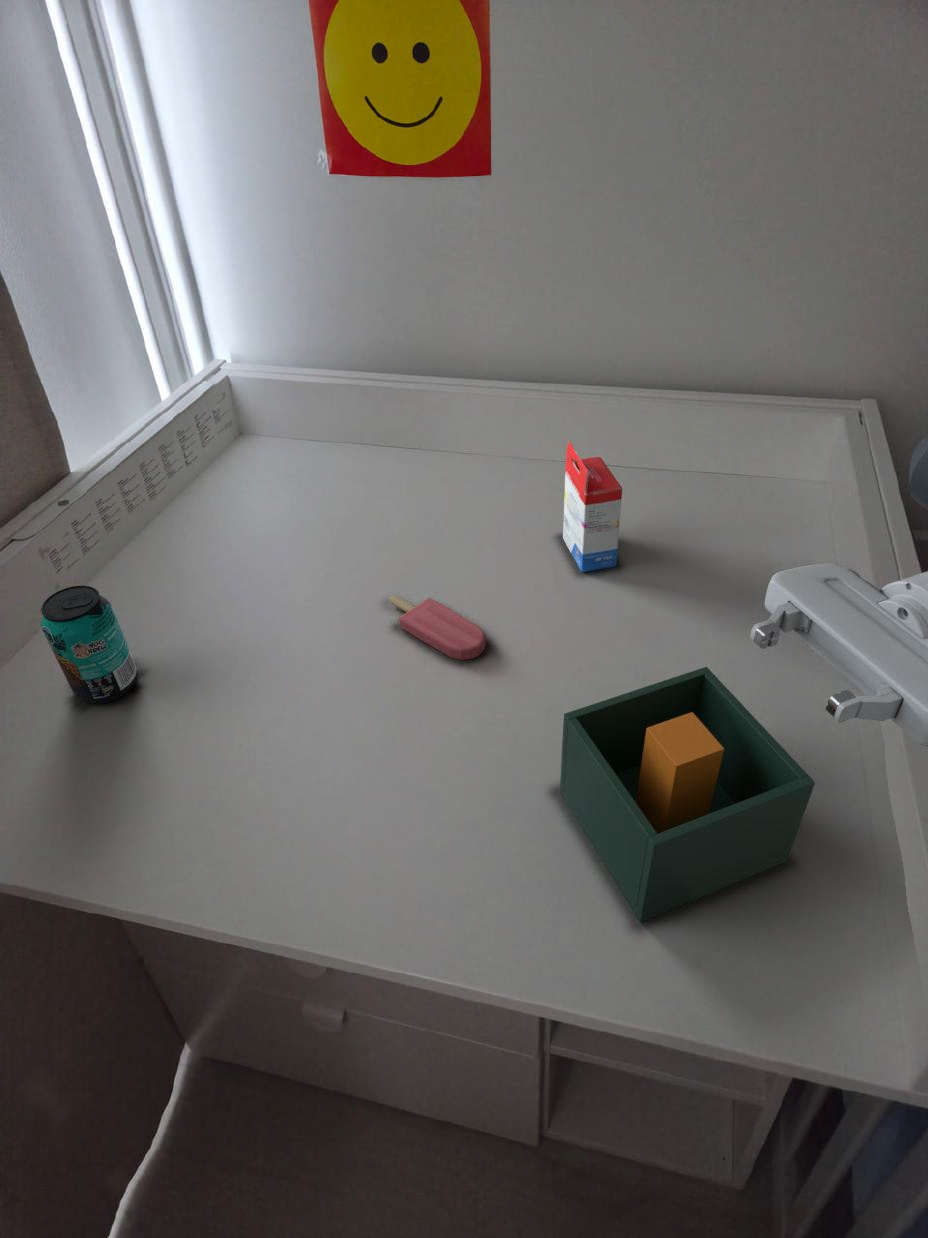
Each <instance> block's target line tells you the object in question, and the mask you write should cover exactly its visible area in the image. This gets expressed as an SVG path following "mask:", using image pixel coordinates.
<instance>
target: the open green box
mask: <svg viewBox="0 0 928 1238" xmlns="http://www.w3.org/2000/svg"><path fill="white" fill-rule="evenodd" d="M691 712H693V713H694V714H695V715H696V717H697V718H698V719H699V720H700V721H701V722H702V724H703V725H704V726H705V727H706V728H707V729H708V730H709V732H710V733H711V734H712V735H713V736H714V737H715V739H716V740H717V741H718V742H719V743H720V744H721V746H722V747H723V748H724V752H723V756H722V761H721V765H720V769H719V773H718V777H717V781H716V785H715V789H714V793H713V797H712V801H711V805H710V810H709V814H708V815H705V816H703V817H700V818H697V819H695V820H692V821H690V822H687V823H684V824H682V825H679V826H677V827H674V828H672V829H669V830H666V831H664V832H661V833H659V834H657V832H656V831H655V830H654V828H653V827H652V825H651V824H650V822H649V821H648V820H647V818H646V817H645V815H644V814H643V812H642V811H641V810H640V808H639V807H638V805H637V804H636V796H637V790H638V783H639V776H640V770H641V763H642V756H643V749H644V743H645V736H646V729H647V728H648V727H651V726H654V725H657V724H659V723H662V722H665V721H668V720H671V719H674V718H677V717H680V716H683V715H685V714H688V713H691ZM562 725H563V726H562V745H561V763H560V780H559V781H560V783H559V793H560V795H561V796H562V798H563V800H564V801H565V804H567V806H568V807H569V810H570V811H571V813H572V814H573V816H574V818H575V819H576V821H577V823H578V825H580V827H581V829H582V831H583V832H584V834H585V835H586V837H587V839H588V840H589V842H590V844H591V845H592V847H593V848H594V850H595V851H596V854H597V855H598V856H599V858H600V860H601V862H602V863H603V865H604V866H605V868H606V869H607V871H608V873H609V874H610V876H611V877H612V879H613V881H614V883H615V885H616V886H617V887H618V889H619V891H620V892H621V894H622V895H623V897H624V899H625V901H626V902H627V903H628V905H629V906H630V908H631V910H632V911H633V913H634V915H635V916H636V918H637V920H638V921H639V923H642V922H645V921H647V920H649V919H652V918H654V917H658V916H659V915H662V914H664V913H667V912H669V911H671V910H673V909H676V908H679V907H680V906H683V905H686V904H688V903H690V902H692V901H693V902H694V901H695V900H698V899H700V898H702V897H704V896H707V895H710V894H712V893H714V892H717V891H719V890H721V889H724V888H727V887H729V886H731V885H734V884H736V883H738V882H740V881H744V880H746V879H748V878H751V877H753V876H756V875H758V874H760V873H762V872H765V871H767V870H769V869H773V868H774V867H777V866H780V865H782V864H784V863H786V862H787V861H788V859H789V856H790V853H791V850H792V848H793V845H794V842H795V840H796V836H797V833H798V831H799V828H800V825H801V823H802V820H803V817H804V815H805V812H806V810H807V806H808V804H809V801H810V798H811V796H812V793H813V791H814V787H815V785H816V781H814V779H813V778H812V777H811V776H810V775H809V774H808V773H807V772H806V771H805V770H804V769H803V768H802V767H801V765H800V764H799V763H798V762H797V761H796V760H795V759H794V758H793V757H792V756H791V755H790V754H789V753H788V752H787V751H786V750H785V748H784V747H783V746H782V745H781V744H780V743H779V742H778V741H777V740H776V739H775V737H773V736H772V735H771V734H770V732H769V731H768V730H767V729H766V728H765V727H764V726H763V725H762V724H761V723H760V722H759V721H758V720H757V719H756V718H755V717H754V715H752V713H751V712H750V711H749V710H748V709H747V708H746V707H745V705H744V704H743V703H741V702H740V701H739V699H737V697H736V696H735V695H734V694H733V693H732V692H731V691H730V690H729V688H727V687H726V686H725V684H724V683H723V682H722V681H721V680H720V679H719V678H718V677H717V676H716V675H715V674H714V673H713V672H712V670H710V669H709V667H708V666H704V667H701V668H698V669H695V670H692V671H689V672H686V673H683V674H680V675H677V676H674V677H670V678H668V679H665V680H662V681H659V682H655V683H653V684H650V685H647V686H644V687H640V688H637V689H634V690H631V691H629V692H628V691H627V692H625V693H623V694H619V695H617V696H613V697H611V698H607V699H605V700H601V701H599V702H596V703H592V704H589V705H586V706H583V707H580V708H577V709H575V710H571V711H568V712H566V713H563V724H562Z"/></svg>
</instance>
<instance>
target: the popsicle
mask: <svg viewBox="0 0 928 1238" xmlns="http://www.w3.org/2000/svg"><path fill="white" fill-rule="evenodd" d="M388 601H389V603H391V604H392V605H394V606H395V607H398V608H399V609H400V610H402V611H403V612H405V613H403V614H402V615H400V616H399V618H398V624H399V627H400V628H401V629H402V630H404V631H405V632H408V633H409V634H410V635H412V636H414V637H416V638H418V639H419V640H420V641H422V642H423V643H425V644H427V645H429V646H431V647H432V648H434V649H436V650H437V651H439V652H441V653H443V654H444V655H446V656H447V657H450V658H453V659H456V660H460V661H463V660H471V659H475V658H477V657H479V656H480V655H481V654H483V652H484V650H485V648H486V634H485V632H484V631H483V630H482V629H481V628H480V626H479V625H476V624H475V623H473V622H472V621H470V620H469V619H467V618H465V617H463V616H462V615H461V614H459V613H457V612H455V611H454V610H452V609H450V608H448V607H447V606H445V605H444V604H442V603H440V602H438V601H436V599H433V598H431V597H428V598H426V599H425V600H423V601H421V602H420V603H419V604H417V605H416V606H414V605H412V604H410V603H409V602H407V601H406V600H404V599H402V598H400V597H398V596H397V595H391V596H389V598H388Z"/></svg>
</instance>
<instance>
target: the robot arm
mask: <svg viewBox="0 0 928 1238" xmlns="http://www.w3.org/2000/svg"><path fill="white" fill-rule="evenodd" d="M908 473H909V475H908V484H909V485H908V486H909V494H910V496H911V498H912V499H913V500H914V501H915V502H917V504H919V505H920V506H921V507H923V508H924V509H926V510H927V511H928V433H927V434H926V435H925V436H924V437H923V438H922V439H921V440H920V442H919V443H918V444H917V445H916V447H915V449H914V450H913V453H912V456H911V459H910V464H909V472H908ZM767 585H768V586H767V589H766V593H765V599H764V608H765V610H767V611H768V612H769V613H770V614H771V615H770V617H769V618H768V619H765V620H763V621H759V622H758V623H755V624H754V625H753V626H752V627H751V632H750V635H749V639H750V640H751V641H752V642H753V643H755V644H756V645H757V646H758V648H760V649H762V650H764V649H767V647H773V646H777V644H778V641H779V637H778V636H780V634H781V631H782V632H783V633H787V632H790V631H791V632H792V634H794V635H795V636H796V637H797V638H798V639H799V640H801V641H802V642H803V643H804V644H805V645H806V646H807V647H809V649H811V650H812V652H814V653H815V654H816V655H817V656H819V657H820V659H822V660H823V661H824V662H825V663H826V664H827V665H829V666H830V667H831V668H832V669H833V670H834V671H836V673H838V674H839V675H840V676H841V677H842V678H843V679H845V680H846V681H847V682H848V683H849V685H851V686H852V687H854V689H856V690H857V691H858V692H859V693H861V694H862V695H856V694H854V693H853V692H852V691H850V690H849V689H845V690H842V691H840V693H834V694H832V695H830V697H829V698H828V700H827V705H826V706H825V711H826V712H827V713H828V714H829V715H830V716H832V718H834V720H836V721H837V722H838V723H843V722H846V721H849V720H852V719H854V718H855V719H860V720H868V721H875V722H884V721H887V720H891V721H892V722H893V723H894V724H895V725H896V726H897V727H899V728H900V729H901V730H902V731H903V732H904V733H905V734H906V735H908V737H910V738H911V739H913V741H914V742H915V743H917V744H918V745H920V746H924V747H928V570H927V571H923V572H920V573H917V574H915V575H911V576H909V577H905V578H902V579H899V580H895V581H892V582H891V583H888V584H885V585H884V586H883V587H882V588H881V589H880V588H878V587H876V586H875V585H874V584H872V583H871V582H869V581H867V580H865V579H864V578H862V577H861V575H860V574H859V573H858V572H857V571H855V570H854V569H851V568H847V567H846V566H843V565H841V564H838V563H831V562H829V563H815V564H814V563H813V564H809V565H804V566H803V565H802V566H798V567H793V568H789V569H784V570H780V571H777V572H775V573H774V574H773V575H772V576H771V578H770V580H769V582H768V584H767Z"/></svg>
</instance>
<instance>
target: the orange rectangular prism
mask: <svg viewBox="0 0 928 1238" xmlns="http://www.w3.org/2000/svg"><path fill="white" fill-rule="evenodd" d="M723 752H724V748H723V747H722V746H721V744H720V743H719V742H718V741H717V740H716V739H715V737H714V736H713V735H712V734H711V733H710V732H709V730H708V729H707V728H706V727H705V726H704V725H703V724H702V722H701V721H700V720H699V719H698V718H697V717H696V715H695V714H694V713H693V712H691V713H688V714H685V715H683V716H680V717H677V718H674V719H671V720H668V721H665V722H662V723H659V724H657V725H654V726H651V727H648V728H647V729H646V736H645V743H644V749H643V756H642V763H641V770H640V776H639V783H638V790H637V796H636V804H637V805H638V807H639V808H640V810H641V811H642V812H643V814H644V815H645V817H646V818H647V820H648V821H649V822H650V824H651V825H652V827H653V828H654V830H655V831H656V832H657V834H659V833H661V832H664V831H666V830H669V829H672V828H674V827H677V826H679V825H682V824H684V823H687V822H690V821H692V820H695V819H697V818H700V817H703V816H705V815H708V814H709V810H710V805H711V801H712V797H713V793H714V789H715V785H716V781H717V777H718V773H719V769H720V765H721V761H722V756H723Z"/></svg>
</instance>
